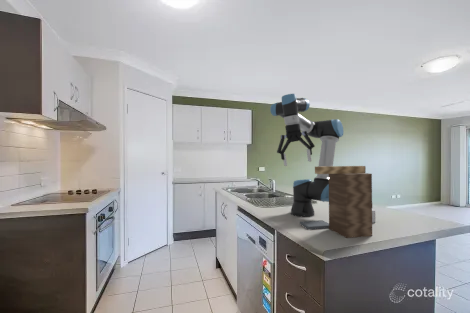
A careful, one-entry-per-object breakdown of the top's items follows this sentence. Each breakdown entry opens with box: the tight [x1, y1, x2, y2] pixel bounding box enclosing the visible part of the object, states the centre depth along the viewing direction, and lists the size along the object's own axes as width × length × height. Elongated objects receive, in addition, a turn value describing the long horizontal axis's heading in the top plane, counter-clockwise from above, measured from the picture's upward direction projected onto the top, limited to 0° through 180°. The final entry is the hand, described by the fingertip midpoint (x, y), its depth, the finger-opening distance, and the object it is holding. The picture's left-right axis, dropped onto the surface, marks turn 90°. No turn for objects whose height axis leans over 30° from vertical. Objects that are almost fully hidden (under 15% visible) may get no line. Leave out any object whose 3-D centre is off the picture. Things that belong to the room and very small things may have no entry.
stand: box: [328, 172, 373, 239], centre depth 118 cm, size 14×14×30 cm
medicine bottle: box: [372, 208, 376, 224], centre depth 138 cm, size 7×7×12 cm
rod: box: [314, 165, 367, 175], centre depth 117 cm, size 26×4×4 cm, turn 101°
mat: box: [299, 220, 329, 230], centre depth 129 cm, size 14×10×2 cm
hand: (297, 163), depth 125 cm, fingers open, 13 cm apart
